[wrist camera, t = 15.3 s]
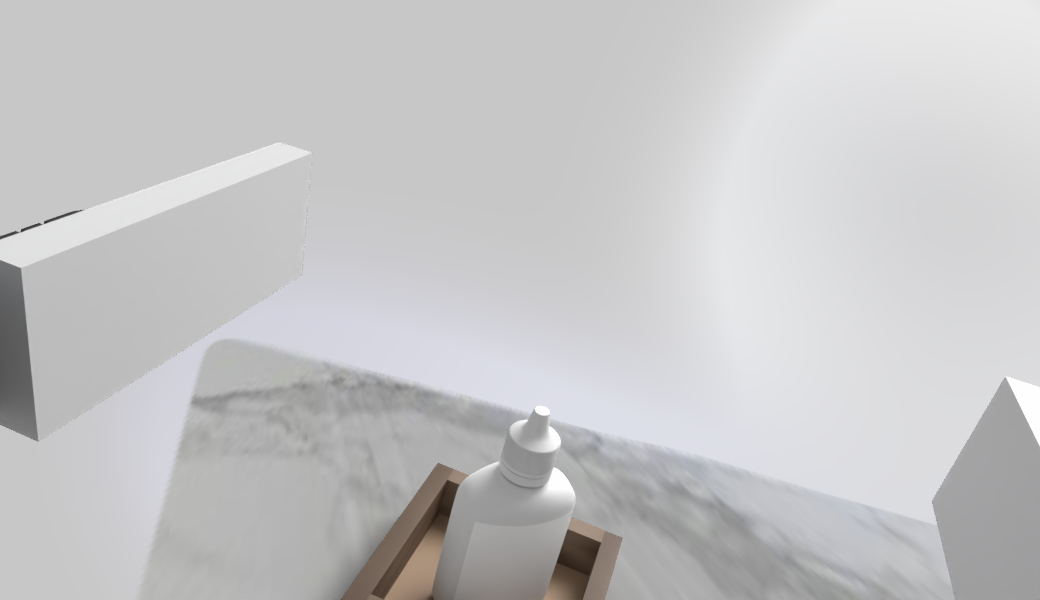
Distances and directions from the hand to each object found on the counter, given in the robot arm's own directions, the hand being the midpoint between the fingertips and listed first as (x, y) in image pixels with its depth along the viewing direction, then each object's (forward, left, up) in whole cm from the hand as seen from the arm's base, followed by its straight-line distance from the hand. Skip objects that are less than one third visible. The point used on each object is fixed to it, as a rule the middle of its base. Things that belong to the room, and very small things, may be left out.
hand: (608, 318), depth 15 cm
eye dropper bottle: (+3, -15, -25) cm, 29 cm away
